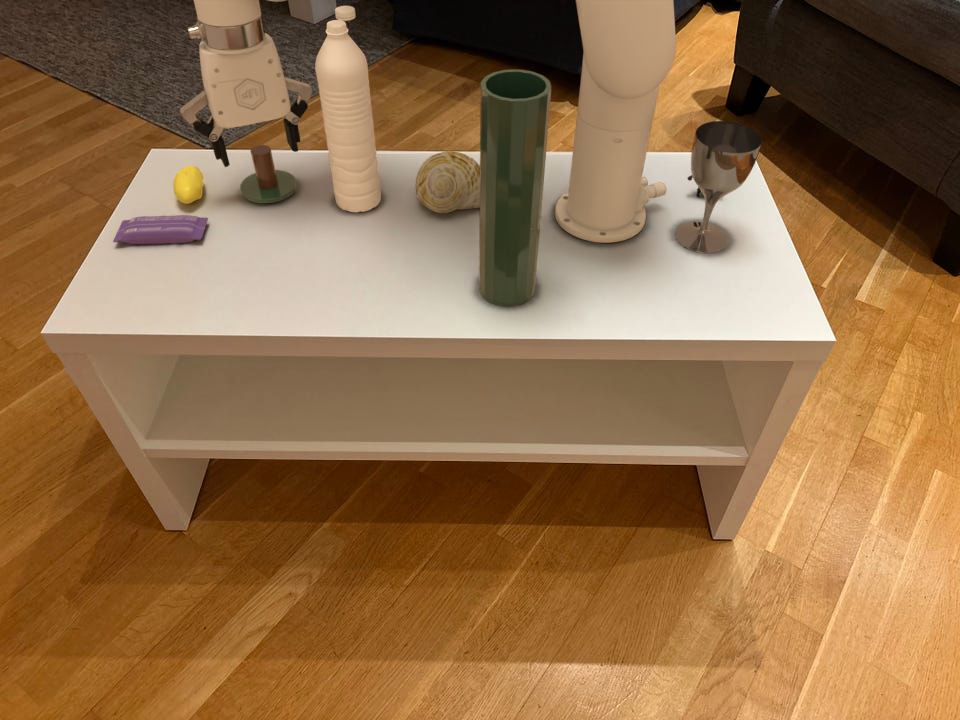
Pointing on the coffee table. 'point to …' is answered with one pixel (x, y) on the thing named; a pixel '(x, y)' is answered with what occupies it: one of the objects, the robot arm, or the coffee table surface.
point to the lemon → (188, 184)
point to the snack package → (161, 229)
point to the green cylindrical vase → (511, 182)
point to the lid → (266, 179)
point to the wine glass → (717, 176)
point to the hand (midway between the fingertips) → (259, 154)
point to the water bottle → (348, 116)
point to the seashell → (449, 182)
